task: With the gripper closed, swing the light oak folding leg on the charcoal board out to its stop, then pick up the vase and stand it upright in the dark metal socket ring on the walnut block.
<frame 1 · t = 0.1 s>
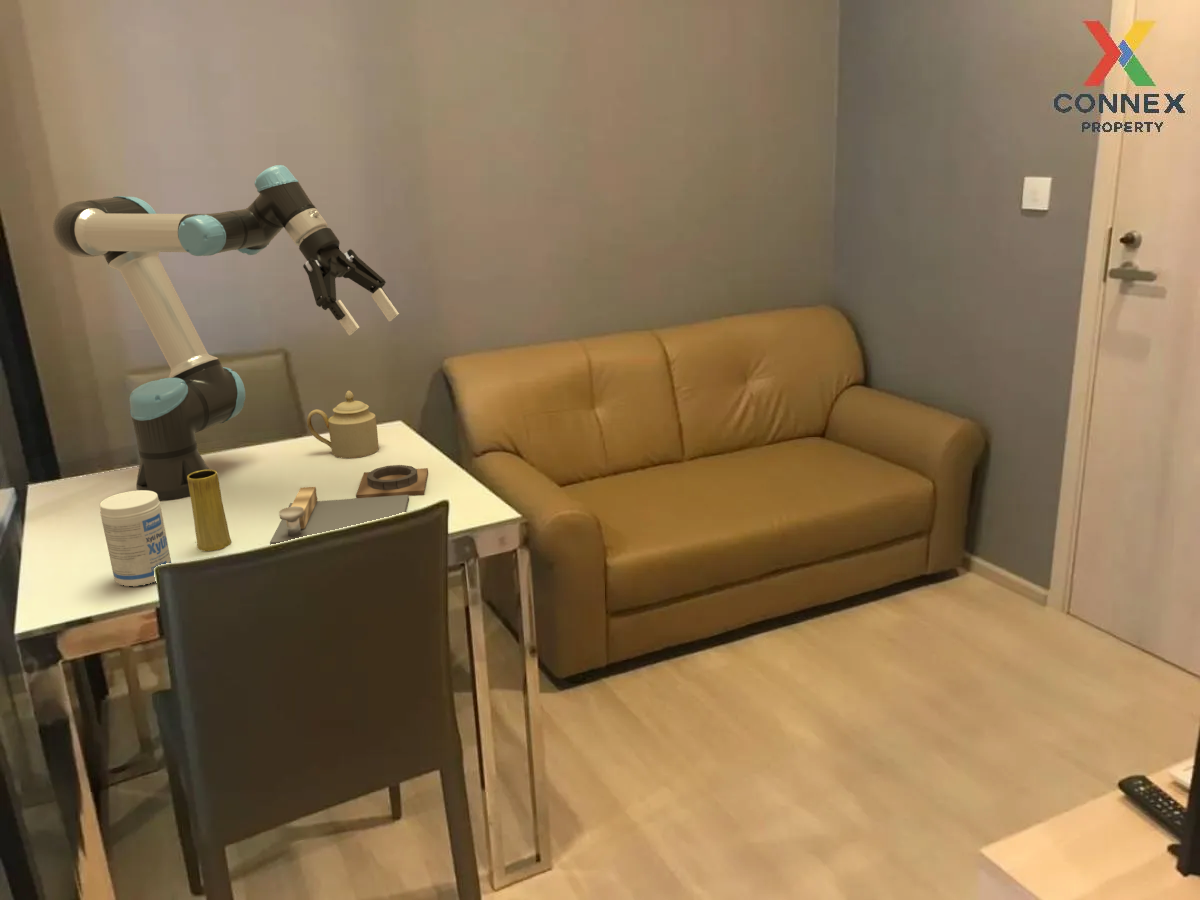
hand: (374, 324, 202), 36 cm above the table, tool tilted 35°, fingers open, 13 cm apart
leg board: (343, 521, 198), on the table
sugar bowl: (348, 453, 239), on the table
pivot post: (295, 539, 191), resting on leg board
folding leg: (300, 507, 197), point 3 cm above the table, hinge at 0.0°
supplement tub: (144, 577, 177), on the table
vase: (214, 546, 190), on the table
socket block: (393, 485, 217), on the table
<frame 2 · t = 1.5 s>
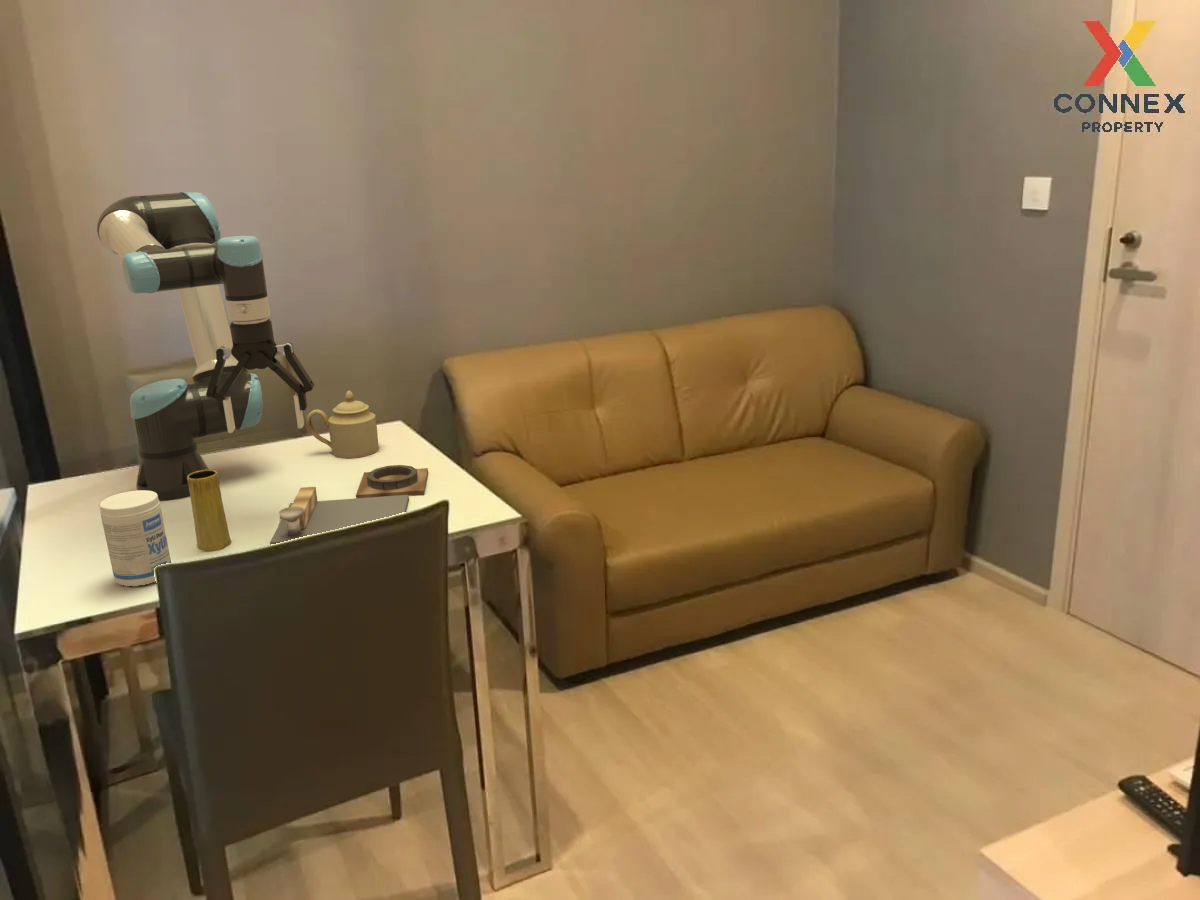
hand: (266, 428, 196), 19 cm above the table, tool pointing down, fingers open, 12 cm apart
nothing on the table moved.
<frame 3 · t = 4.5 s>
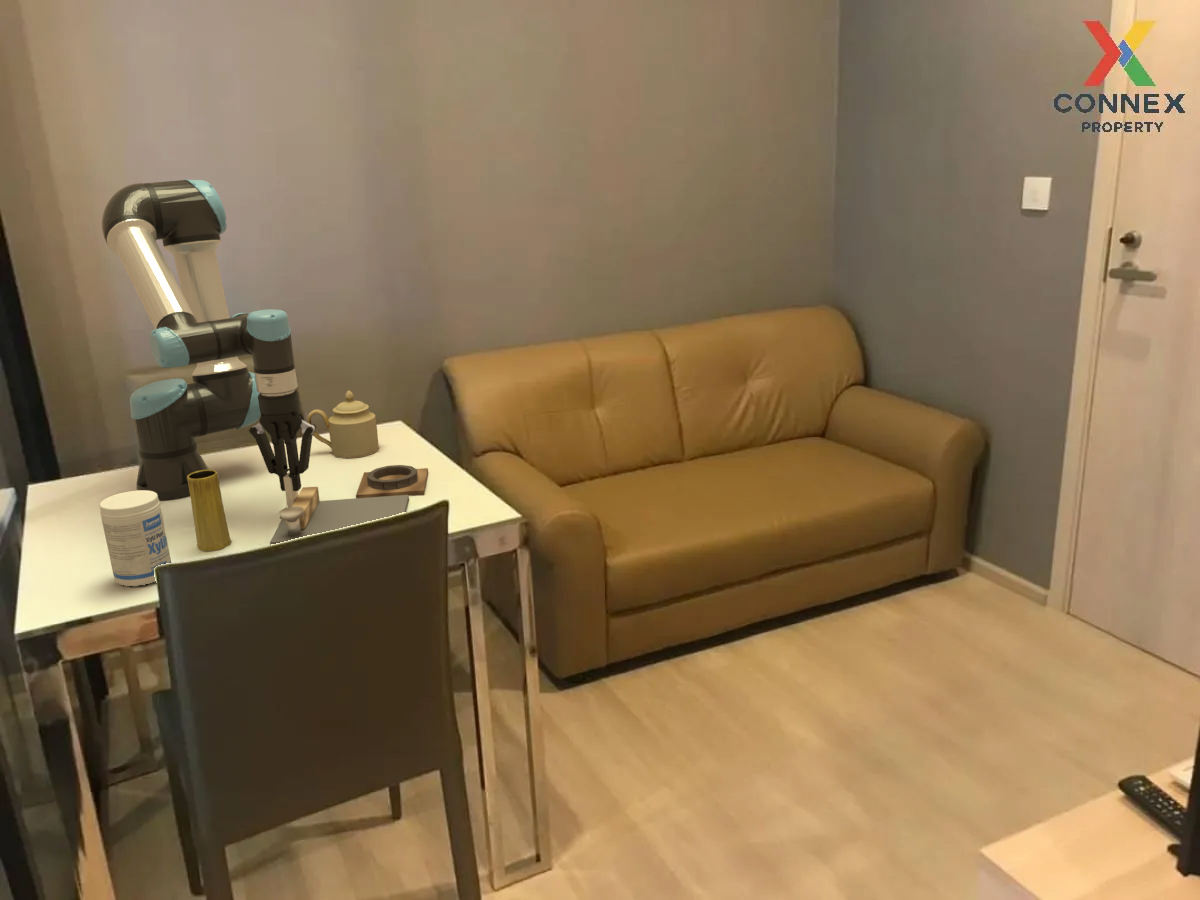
hand: (293, 505, 200), 3 cm above the table, tool pointing down, fingers closed
folding leg: (301, 507, 197), point 3 cm above the table, hinge at -1.5°, touching gripper
everything else where it was.
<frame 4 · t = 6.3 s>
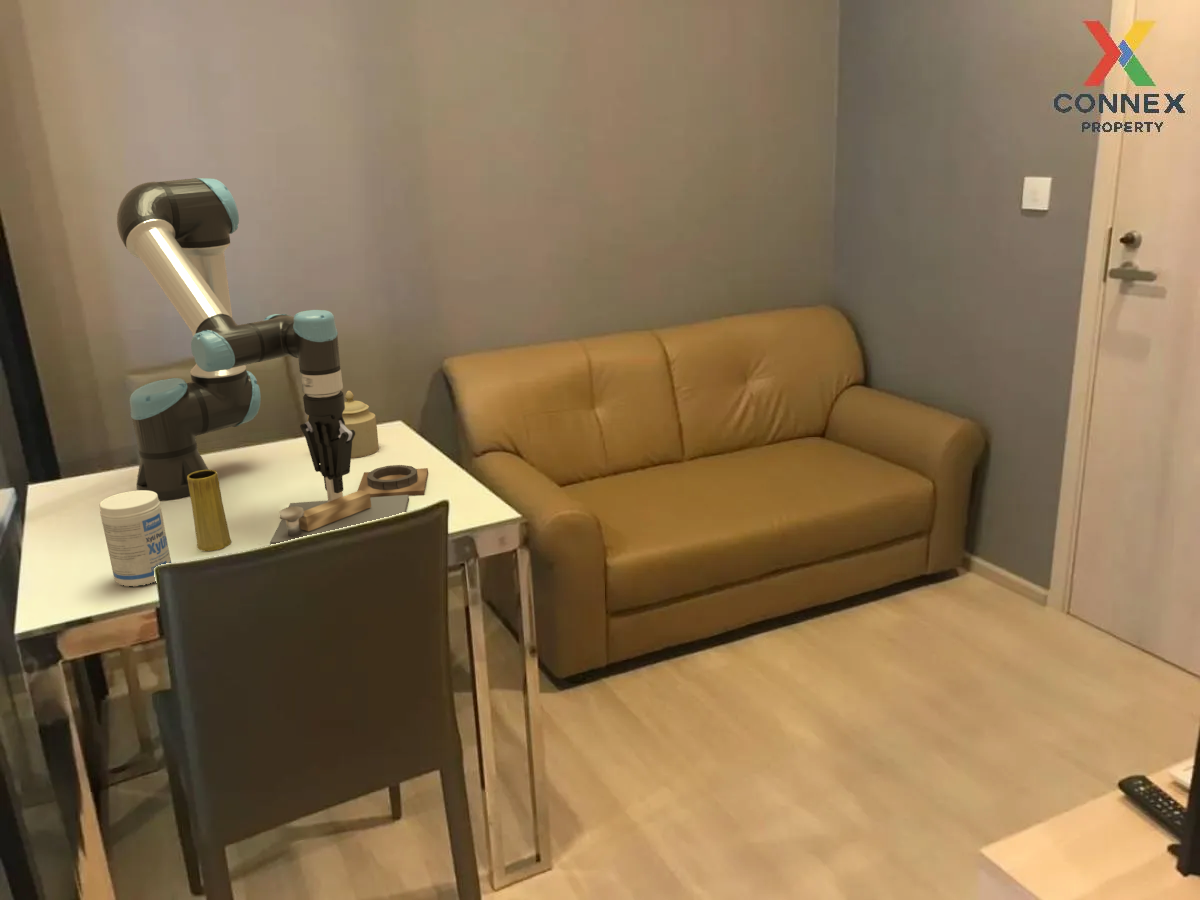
hand: (336, 506, 200), 2 cm above the table, tool pointing down, fingers closed
folding leg: (325, 509, 195), point 3 cm above the table, hinge at -45.3°, touching gripper
everything else where it was.
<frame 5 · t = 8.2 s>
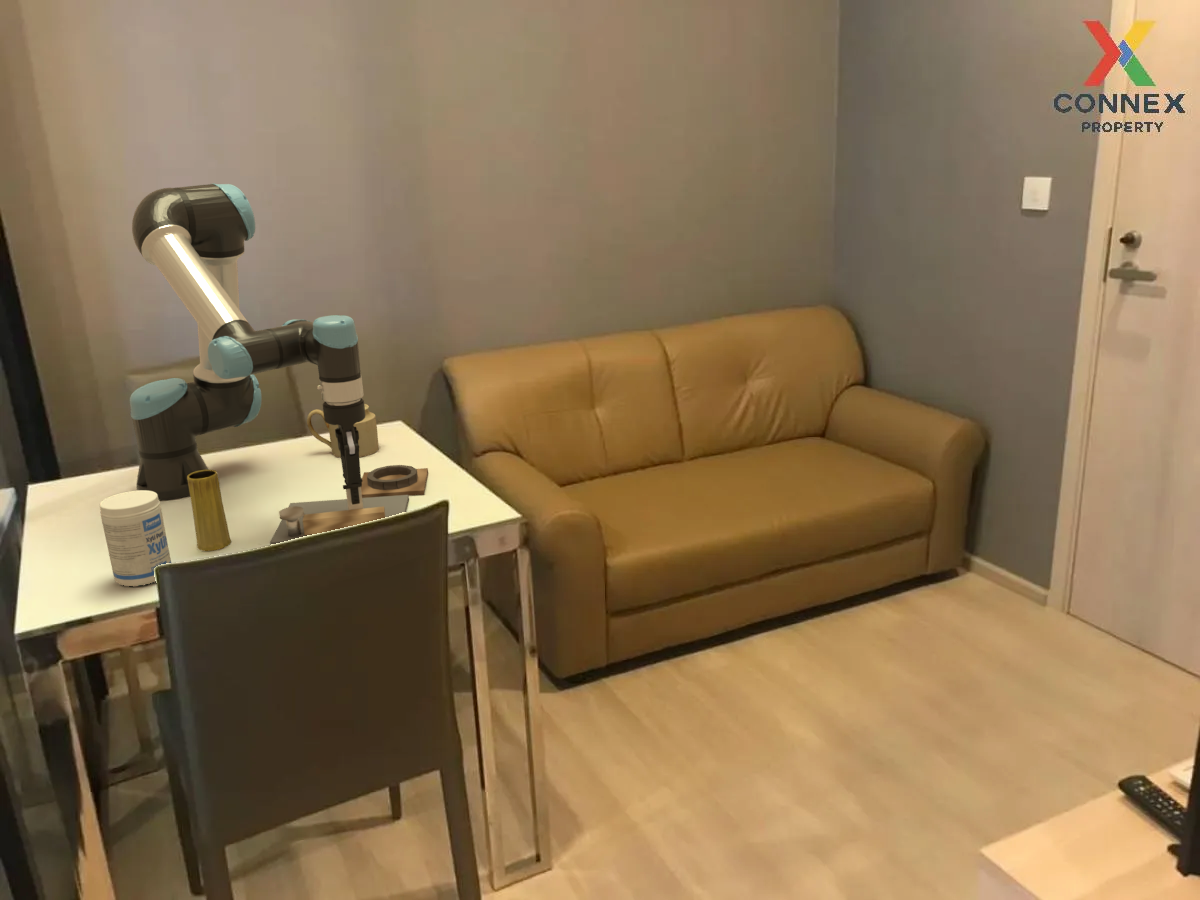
hand: (356, 517, 194), 2 cm above the table, tool pointing down, fingers closed
folding leg: (333, 517, 191), point 3 cm above the table, hinge at -85.0°, touching gripper
everything else where it was.
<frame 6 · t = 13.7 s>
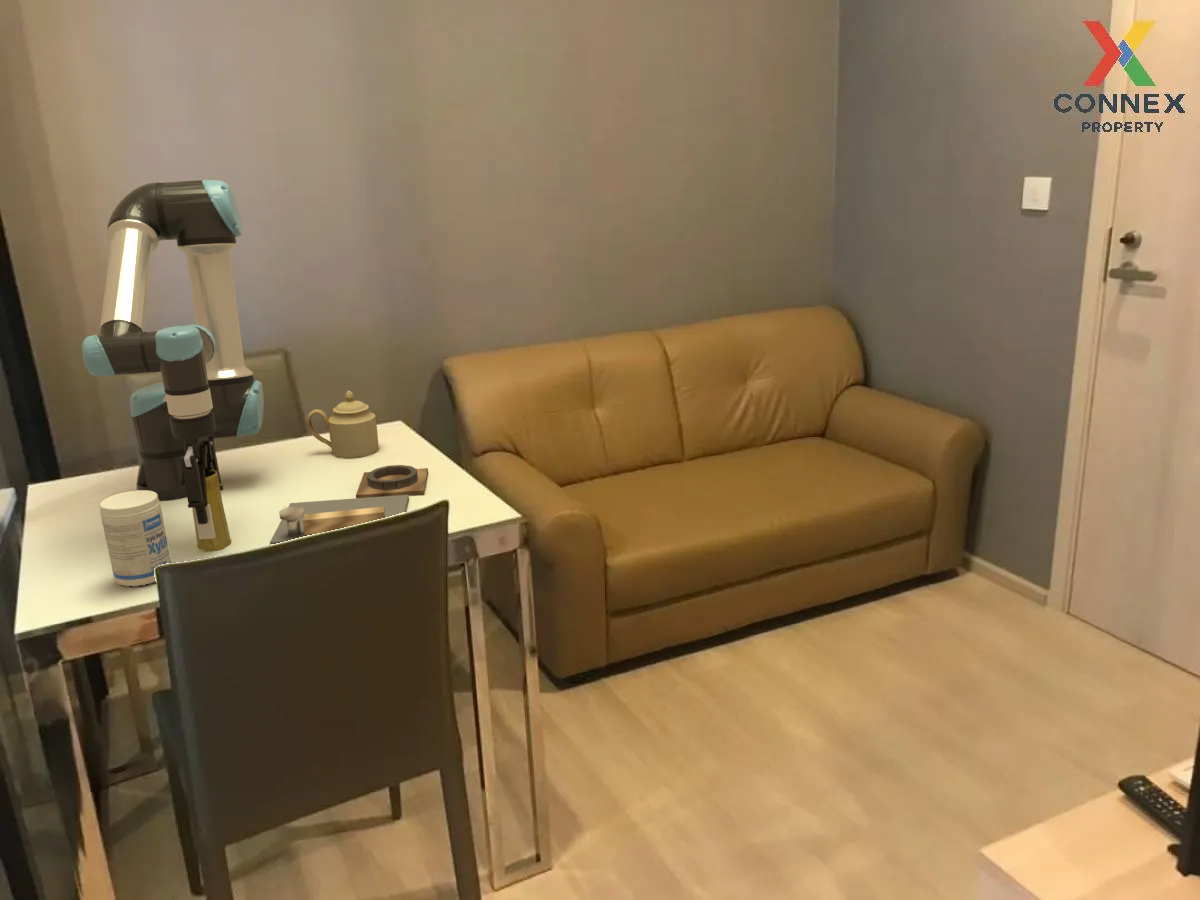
hand: (212, 531, 189), 3 cm above the table, tool pointing down, fingers closed on vase, 6 cm apart
folding leg: (333, 518, 191), point 4 cm above the table, hinge at -85.1°
vase: (214, 546, 190), on the table, touching gripper
everything else where it was.
when the fingers open (5 cm above the table, at t = 20.8 s): vase drops 1 cm, resting on socket block.
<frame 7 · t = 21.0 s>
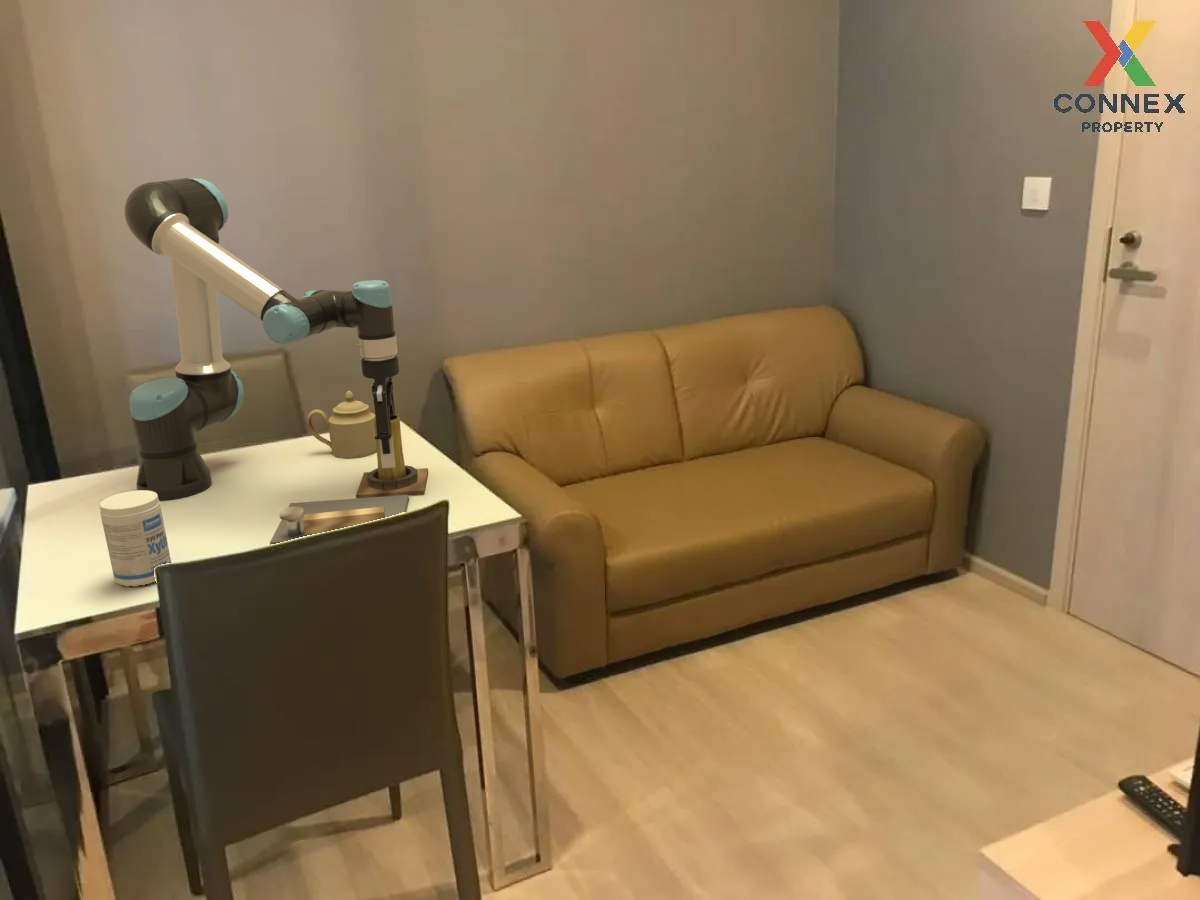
hand: (390, 460, 215), 6 cm above the table, tool pointing down, fingers open, 8 cm apart
vase: (393, 481, 216), point 1 cm above the table, touching socket block
everything else where it was.
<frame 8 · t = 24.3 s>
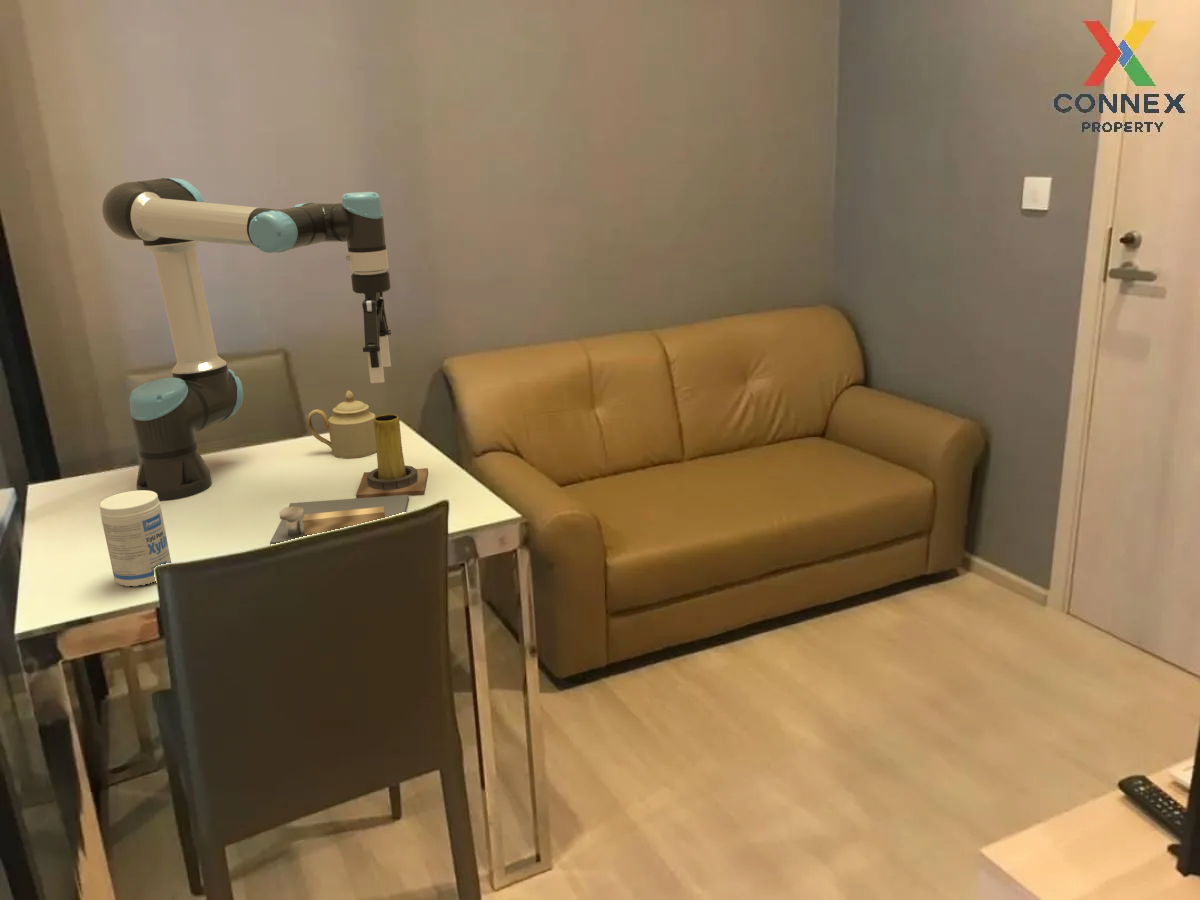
hand: (381, 374, 209), 25 cm above the table, tool pointing down, fingers open, 13 cm apart
nothing on the table moved.
at the end: folding leg at -85° (first picture: +0°); vase 0.1 cm off-centre on the socket block, point 0.8 cm above the socket block's base; vase tilted 0° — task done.
